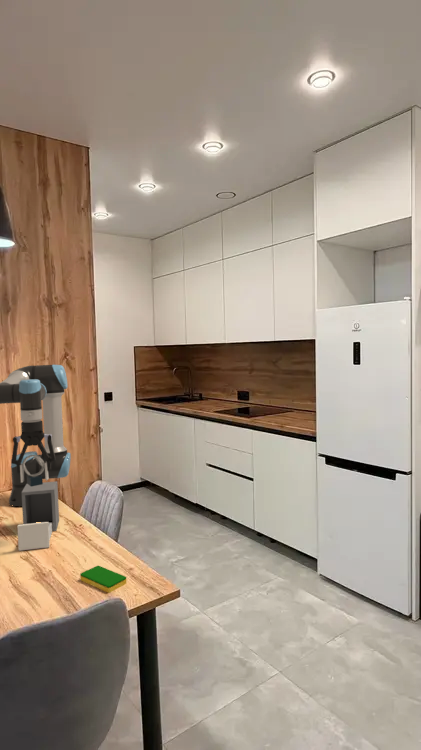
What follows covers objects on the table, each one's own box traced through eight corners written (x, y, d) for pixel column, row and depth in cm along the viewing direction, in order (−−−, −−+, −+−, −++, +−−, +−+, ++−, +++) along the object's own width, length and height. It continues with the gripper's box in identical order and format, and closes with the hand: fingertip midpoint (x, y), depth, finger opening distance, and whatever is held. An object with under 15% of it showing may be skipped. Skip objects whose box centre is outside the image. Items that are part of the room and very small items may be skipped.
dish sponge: (98, 572, 153) (97, 564, 153) (127, 584, 144) (127, 576, 144) (79, 581, 147) (79, 573, 147) (109, 594, 139) (108, 586, 139)
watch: (48, 483, 179) (46, 454, 178) (25, 487, 174) (24, 458, 173) (43, 480, 183) (42, 452, 183) (22, 484, 179) (20, 455, 178)
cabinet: (28, 523, 197) (26, 483, 196) (59, 520, 199) (57, 481, 198) (23, 534, 185) (21, 492, 184) (56, 530, 188) (54, 489, 187)
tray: (26, 533, 185) (25, 510, 185) (53, 530, 188) (52, 508, 187) (18, 550, 169) (17, 526, 169) (49, 547, 172) (48, 522, 171)
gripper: (-1, 424, 171) (3, 485, 173) (60, 420, 176) (62, 480, 177) (4, 420, 179) (7, 480, 180) (61, 417, 183) (64, 475, 185)
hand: (34, 480), depth 179 cm, fingers closed on watch, 8 cm apart
